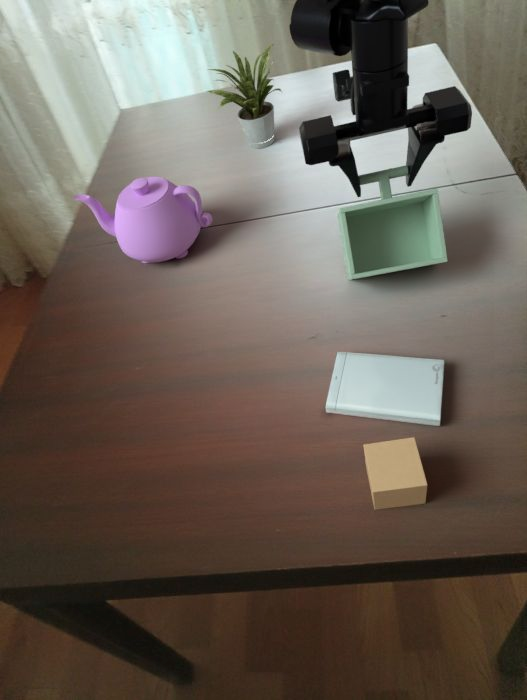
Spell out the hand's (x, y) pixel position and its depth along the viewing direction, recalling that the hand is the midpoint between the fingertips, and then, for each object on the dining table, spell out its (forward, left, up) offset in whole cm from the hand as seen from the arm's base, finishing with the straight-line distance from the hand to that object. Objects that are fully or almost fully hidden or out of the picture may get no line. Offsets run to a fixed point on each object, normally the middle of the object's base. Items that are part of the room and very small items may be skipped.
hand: (383, 190), depth 64 cm
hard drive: (+5, +23, -11) cm, 26 cm away
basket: (0, 0, -6) cm, 6 cm away
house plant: (+16, -41, -11) cm, 45 cm away
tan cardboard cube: (+6, +35, -11) cm, 37 cm away
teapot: (+35, -13, -11) cm, 39 cm away
